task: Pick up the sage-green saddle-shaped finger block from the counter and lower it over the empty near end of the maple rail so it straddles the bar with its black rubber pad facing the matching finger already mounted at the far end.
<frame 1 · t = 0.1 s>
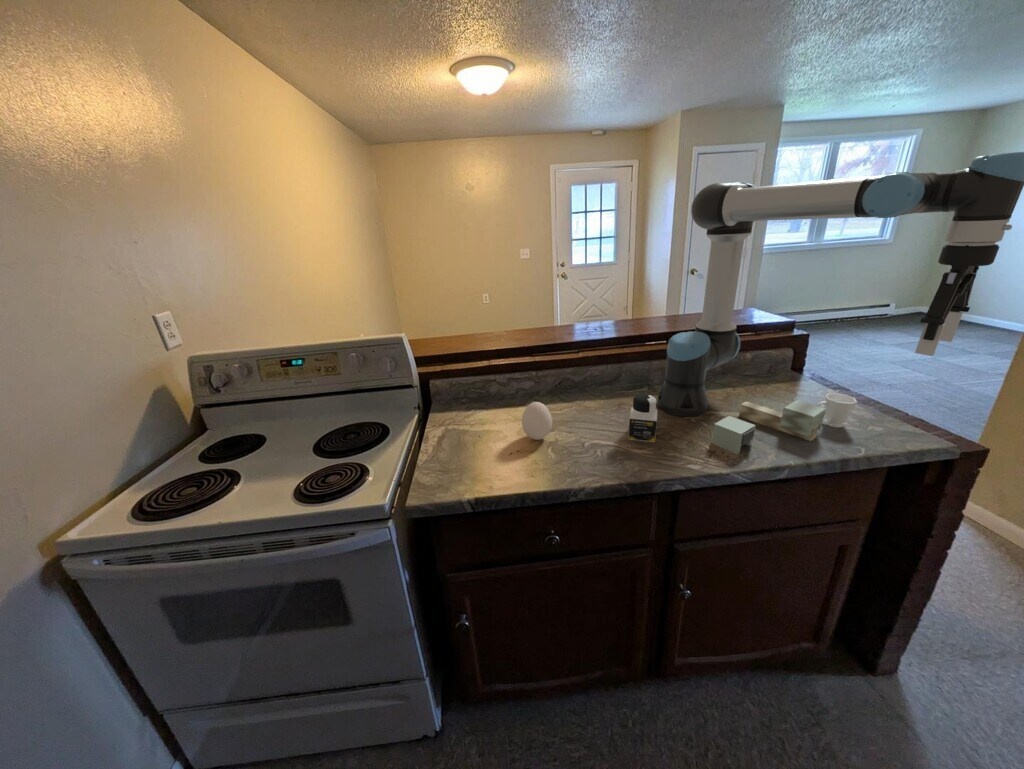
hand: (933, 347, 86), 28 cm above the counter, fingers open, 13 cm apart
finger block: (731, 444, 106), on the counter
medicine bottle: (642, 435, 113), on the counter
egg: (537, 438, 116), on the counter
cup: (828, 424, 113), on the counter
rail: (774, 426, 113), on the counter
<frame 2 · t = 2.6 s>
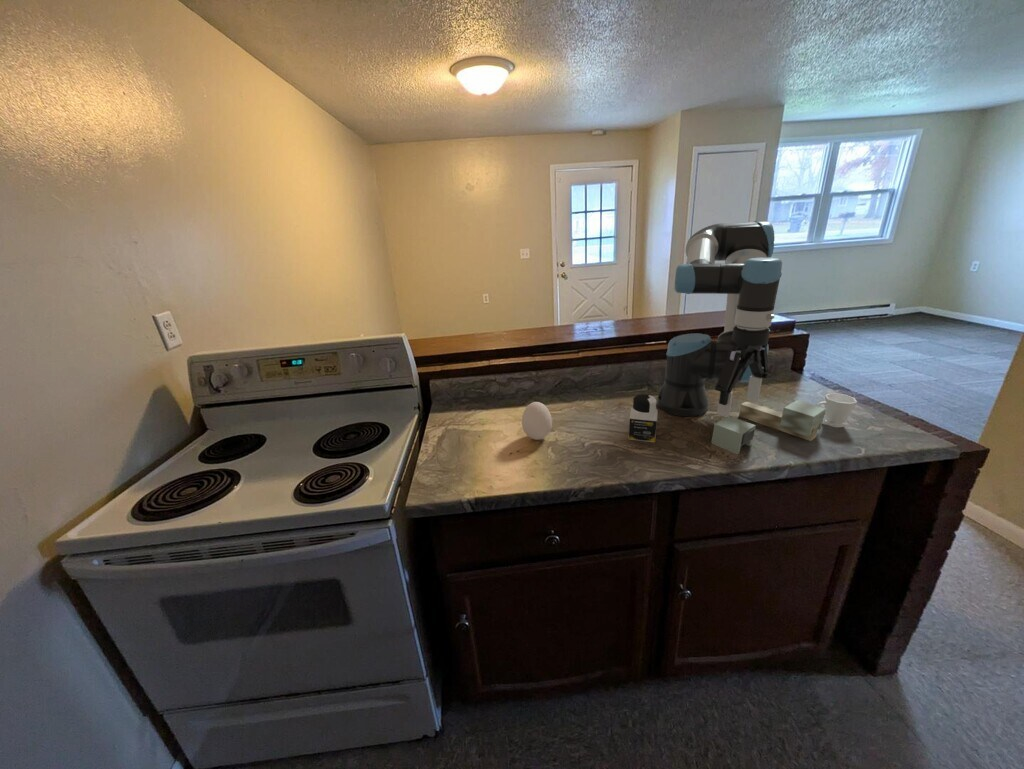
hand: (737, 407, 102), 11 cm above the counter, fingers open, 13 cm apart
nothing on the counter moved.
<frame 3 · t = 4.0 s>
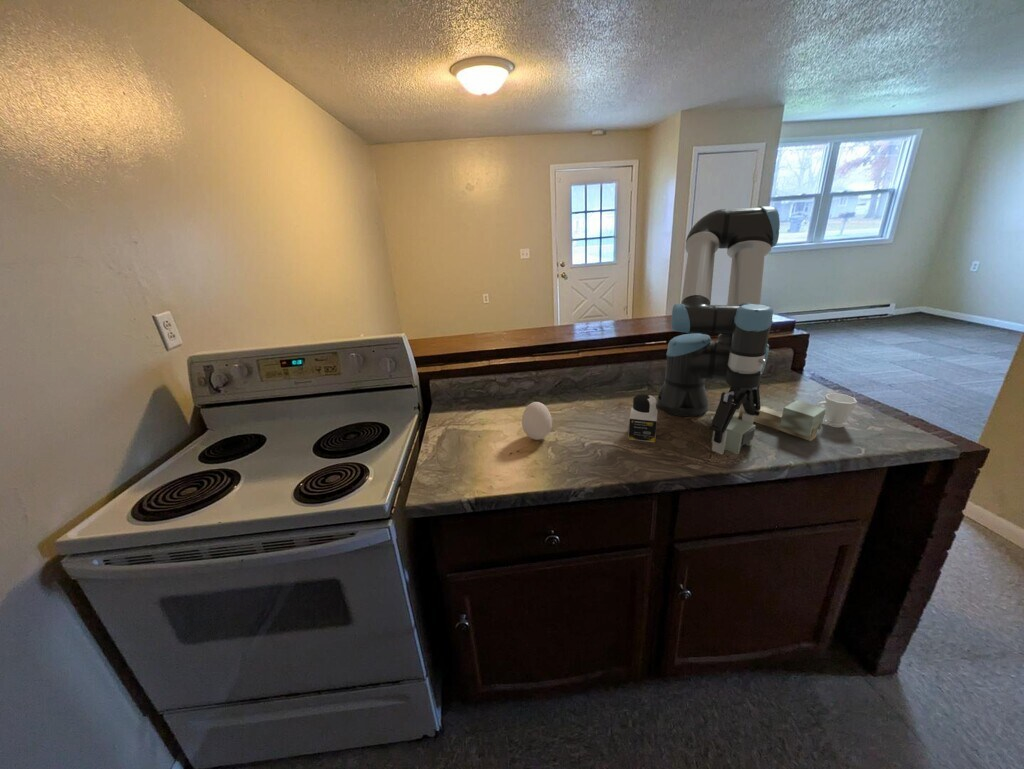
hand: (731, 443, 106), 0 cm above the counter, fingers open, 12 cm apart
nothing on the counter moved.
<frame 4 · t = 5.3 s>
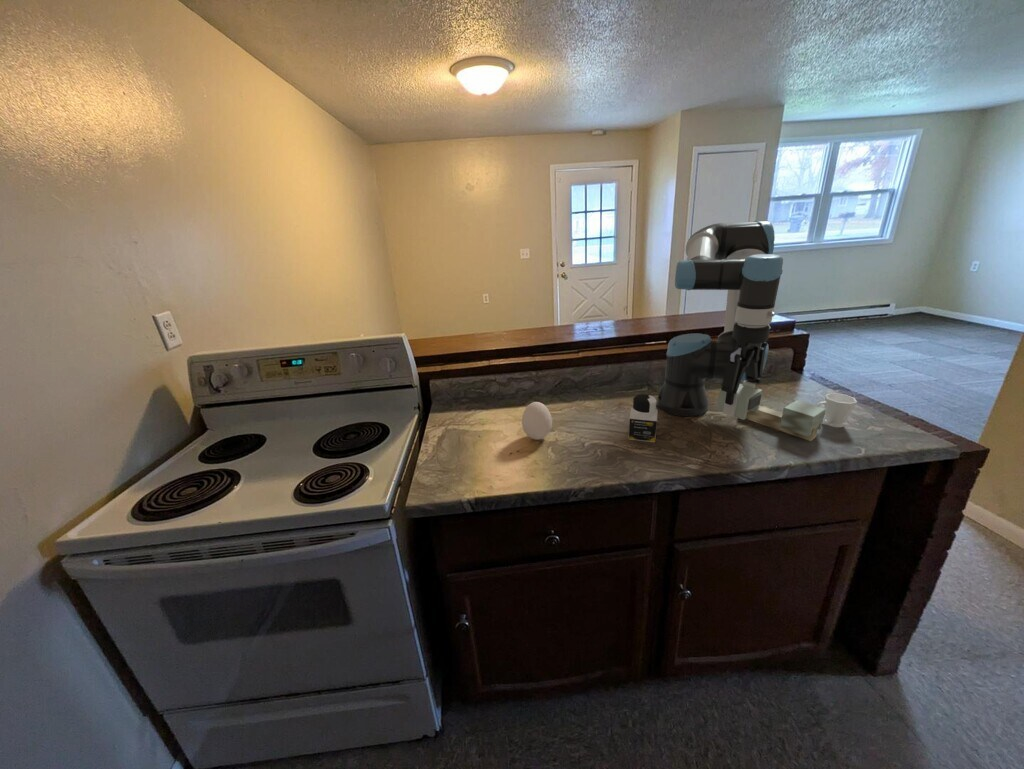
hand: (737, 409, 103), 10 cm above the counter, fingers closed on finger block, 7 cm apart
finger block: (737, 410, 103), point 10 cm above the counter, touching gripper
everything else where it was.
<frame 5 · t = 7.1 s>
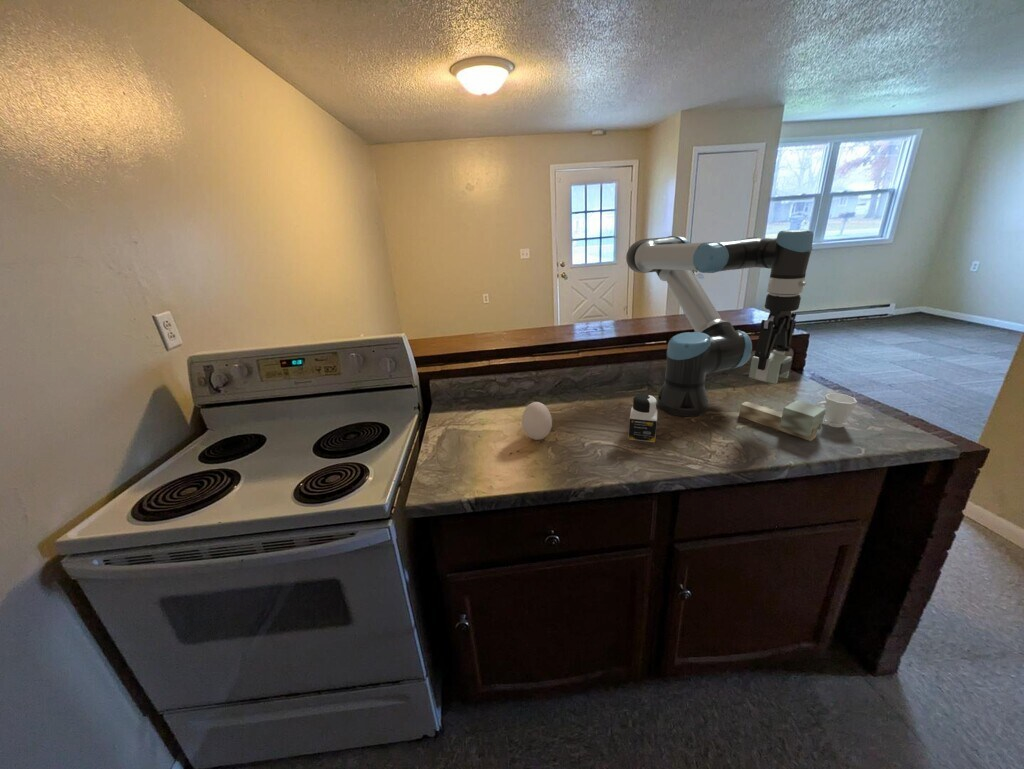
hand: (767, 376, 111), 14 cm above the counter, fingers closed on finger block, 7 cm apart
finger block: (768, 377, 111), point 14 cm above the counter, touching gripper
everything else where it was.
when the fingers open (2 cm above the counter, at t = 9.2 s): finger block stays where it is, resting on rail.
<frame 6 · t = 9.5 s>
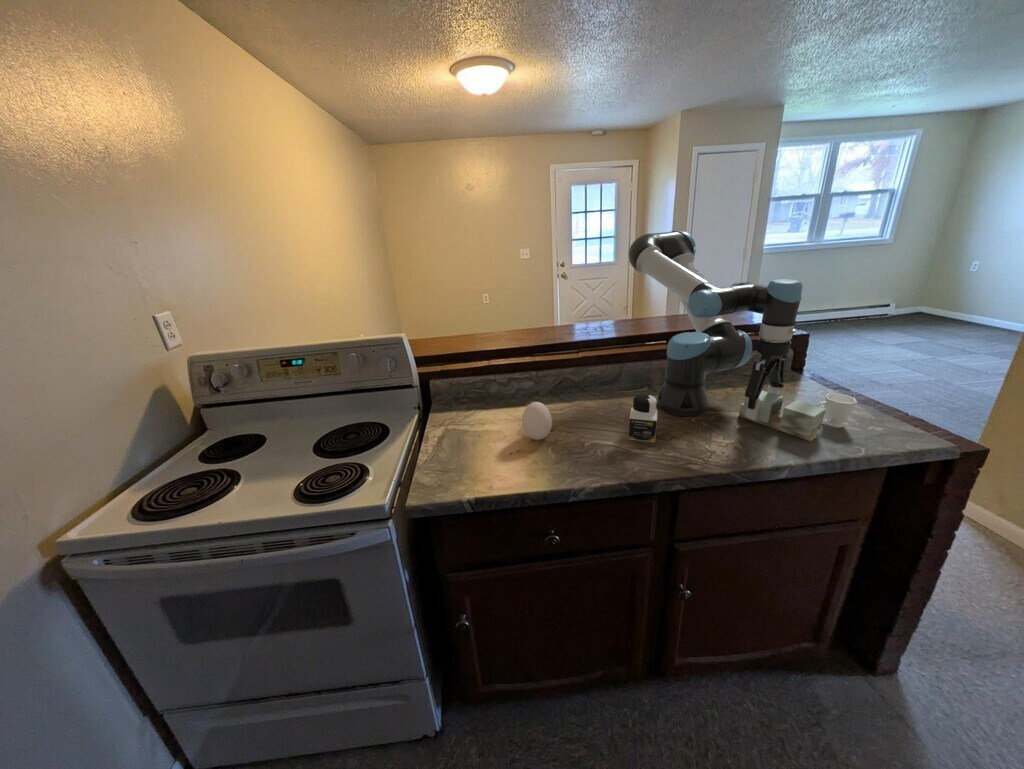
hand: (760, 412, 116), 3 cm above the counter, fingers open, 10 cm apart
finger block: (760, 414, 116), point 2 cm above the counter, touching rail
everything else where it was.
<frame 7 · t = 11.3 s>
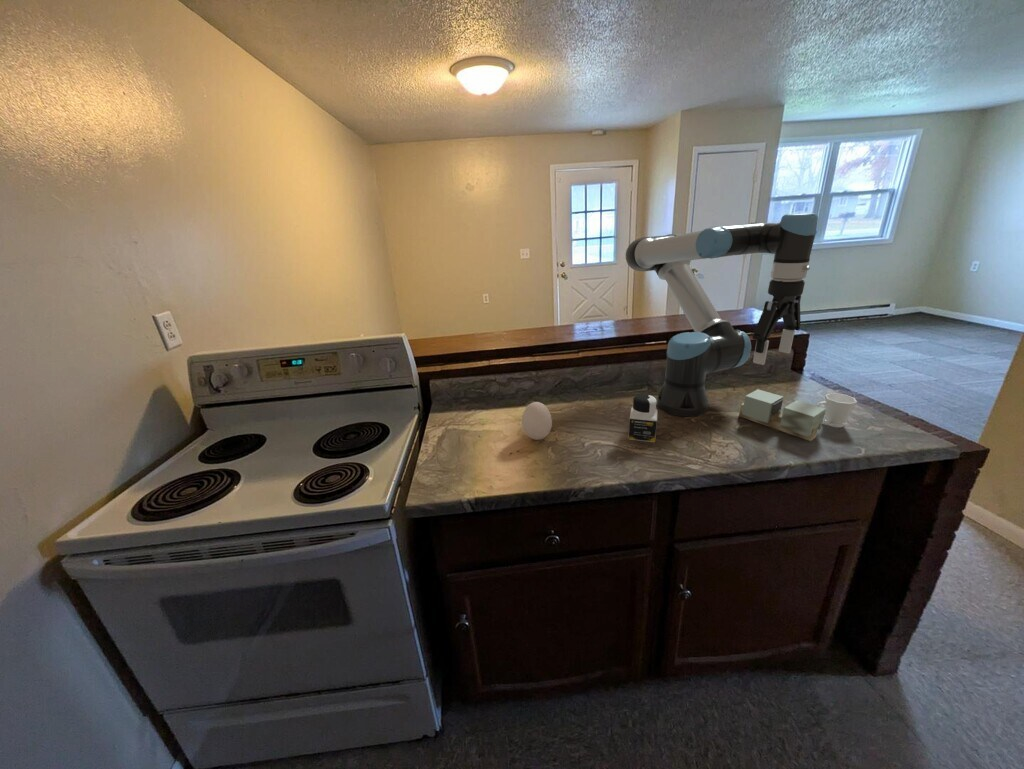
hand: (771, 357, 109), 19 cm above the counter, fingers open, 13 cm apart
nothing on the counter moved.
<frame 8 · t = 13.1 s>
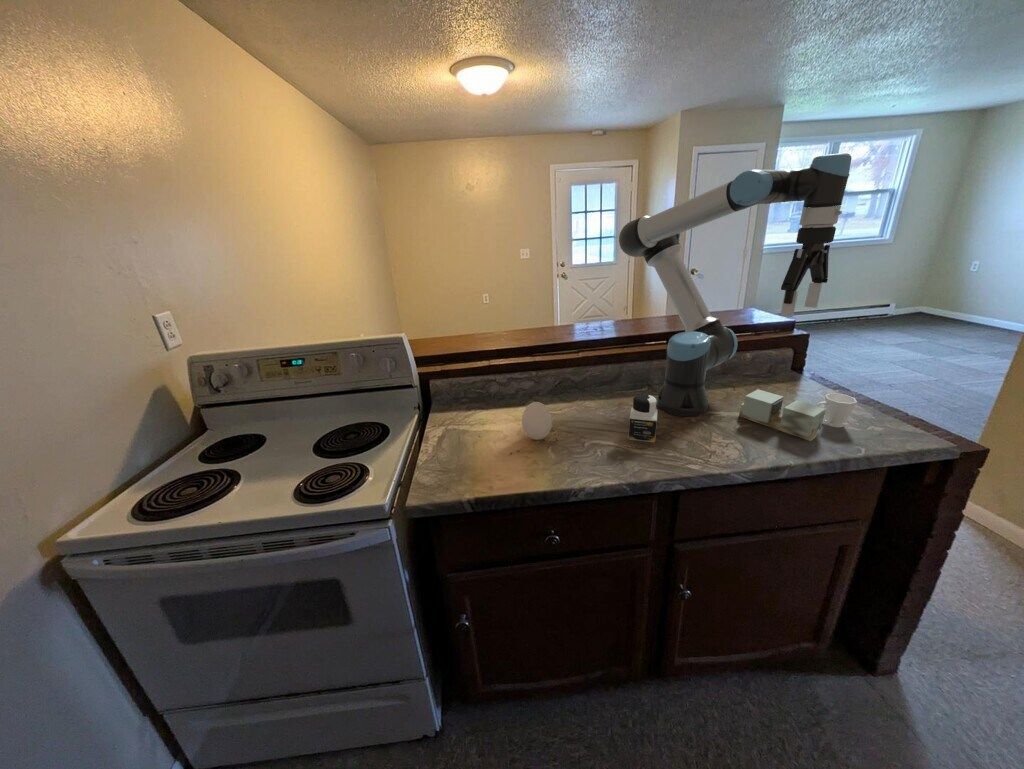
hand: (798, 311, 106), 32 cm above the counter, fingers open, 13 cm apart
nothing on the counter moved.
at the end: finger block 0.2 cm from the target spot on the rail, point 2.0 cm above the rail's base; finger block tilted 0°; finger block touching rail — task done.
